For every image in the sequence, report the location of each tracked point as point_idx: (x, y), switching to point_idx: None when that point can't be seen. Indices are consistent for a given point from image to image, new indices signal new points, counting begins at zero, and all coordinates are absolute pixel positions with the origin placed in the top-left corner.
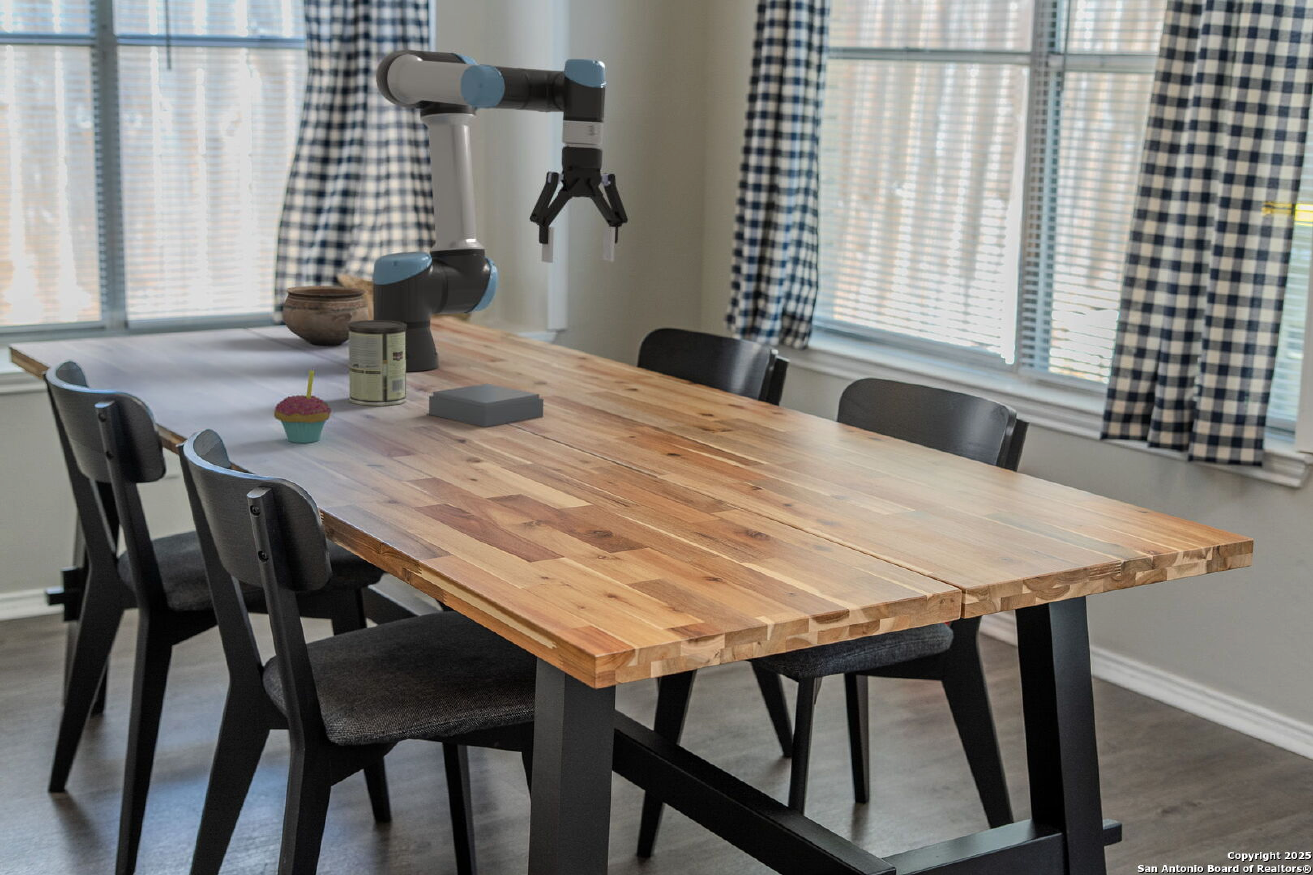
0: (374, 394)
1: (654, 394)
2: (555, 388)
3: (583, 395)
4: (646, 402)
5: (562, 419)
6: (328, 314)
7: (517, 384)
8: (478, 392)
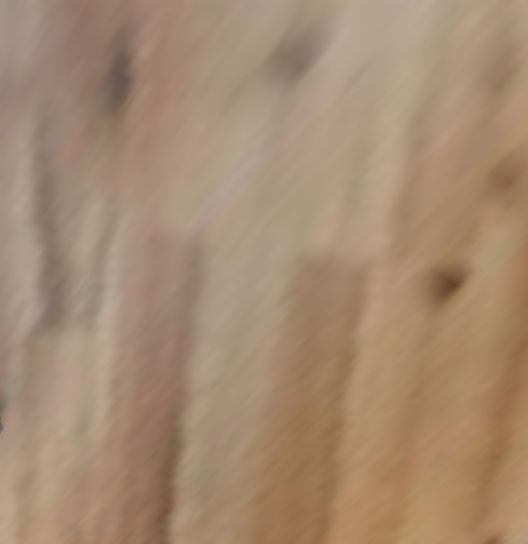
0: None
1: (442, 362)
2: (274, 152)
3: (270, 276)
4: (343, 427)
5: (28, 472)
6: None
7: (217, 34)
8: None
